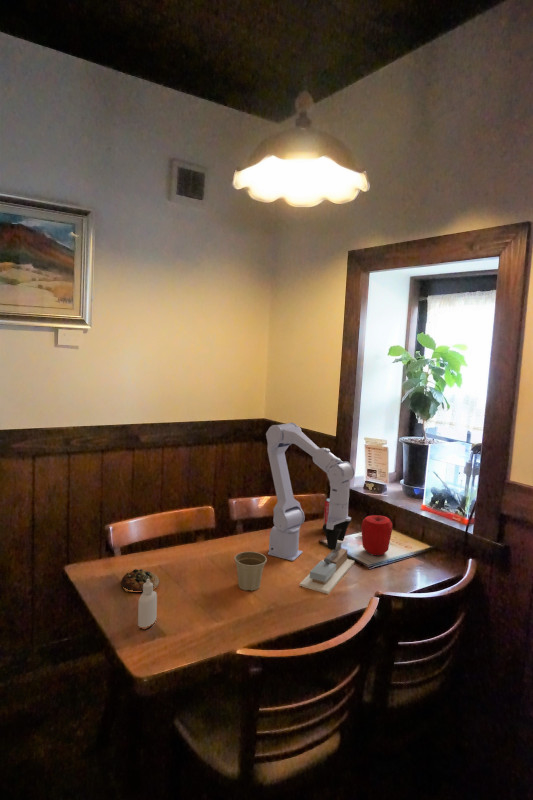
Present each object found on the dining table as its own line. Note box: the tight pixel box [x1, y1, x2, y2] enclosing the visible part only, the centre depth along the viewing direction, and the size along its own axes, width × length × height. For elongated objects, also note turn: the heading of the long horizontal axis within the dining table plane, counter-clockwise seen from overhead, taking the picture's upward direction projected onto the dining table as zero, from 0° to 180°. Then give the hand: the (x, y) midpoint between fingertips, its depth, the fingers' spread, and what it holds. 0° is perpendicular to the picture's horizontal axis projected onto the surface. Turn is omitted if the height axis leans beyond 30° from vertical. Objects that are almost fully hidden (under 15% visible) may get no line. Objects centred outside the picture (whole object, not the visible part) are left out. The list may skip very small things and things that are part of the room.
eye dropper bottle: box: [137, 579, 158, 627], centre depth 132 cm, size 4×6×12 cm
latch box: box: [299, 547, 355, 595], centre depth 164 cm, size 9×24×4 cm, turn 153°
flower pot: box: [233, 551, 268, 592], centre depth 154 cm, size 9×9×9 cm
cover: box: [309, 560, 336, 582], centre depth 160 cm, size 5×9×2 cm, turn 153°
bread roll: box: [120, 568, 160, 591], centre depth 153 cm, size 11×11×5 cm
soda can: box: [323, 497, 330, 525], centre depth 200 cm, size 6×6×12 cm
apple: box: [361, 514, 393, 556], centre depth 181 cm, size 11×10×14 cm
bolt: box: [324, 540, 342, 563], centre depth 166 cm, size 2×9×4 cm, turn 153°
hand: (335, 544), depth 163 cm, fingers open, 7 cm apart
